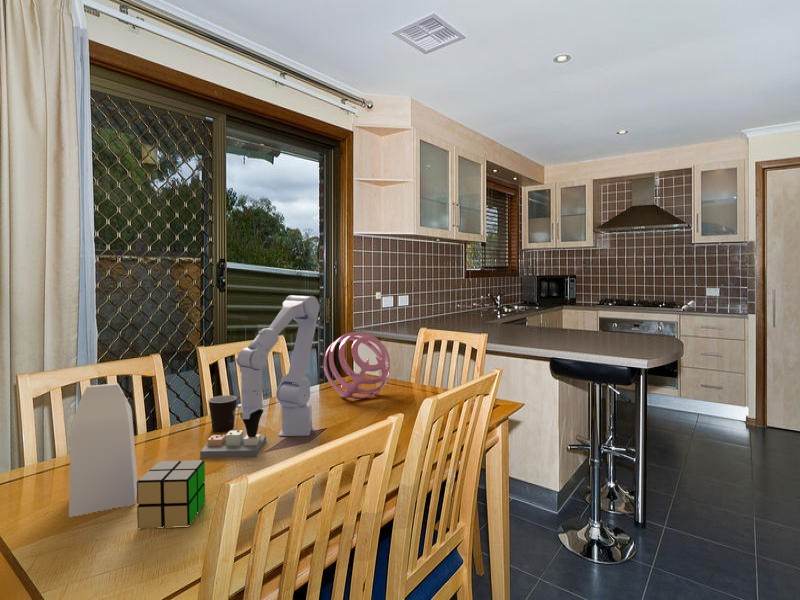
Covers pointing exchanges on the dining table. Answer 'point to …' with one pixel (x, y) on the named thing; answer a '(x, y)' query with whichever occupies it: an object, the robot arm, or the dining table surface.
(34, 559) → the dining table surface
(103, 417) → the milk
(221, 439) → the orange dice cube
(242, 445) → the button board
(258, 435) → the cream single-knob block
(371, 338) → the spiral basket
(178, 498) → the puzzle cube
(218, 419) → the coffee mug
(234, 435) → the pale green cube
